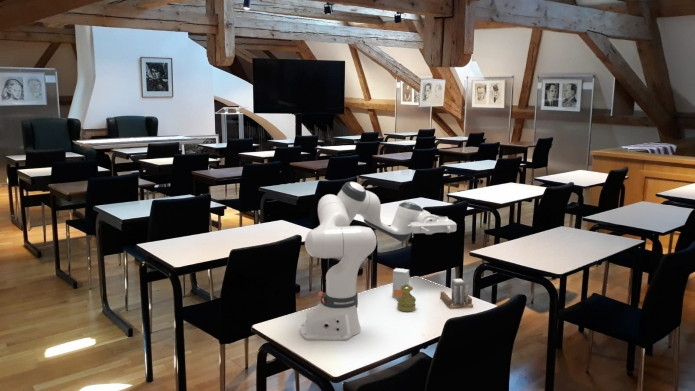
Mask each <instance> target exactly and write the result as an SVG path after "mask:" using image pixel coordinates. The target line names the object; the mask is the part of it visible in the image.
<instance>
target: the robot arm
mask: <svg viewBox="0 0 695 391" xmlns="http://www.w3.org/2000/svg"><path fill="white" fill-rule="evenodd" d="M357 215H359V216H360V217H362V218H363V222H364V223H365V224H366V225H368V226H369V227H367V226H362V225H351V223H352V221H353V220H354V219H355V217H356V216H357ZM317 216H318V220H319V225H318V226H317V227H315V228H313V229H310V230H309V231H308V232H307V234H306V236H305V238H304V247H305V250H306V252H307V253H308V254H309V256H311V257H313V258H319V259H337V258H341V260H339V262H338V263H337V264H335V265H333V266H331V267H329V269H328V270H327V272H326V275H325V280H326V281H325V292H323V291H322V290H321V291H319V292H318V294H317V295H318V297H319V298H320V303H318V304H316V306H314V307H313V308H311V309H310V310H309V311H308V312H307V315H306V318H305V321H303V322H302V323H301V324H300V326H299V334H300V335H301V337H302V338H304V339H305V340H308V341H310V340H311V341H312V340H313V341H315V340H317V341H347V340H349V339H351V337H353V336H355V335H357V334H359V333H360V332H361V330H362V328H361V324H360V321H359V315H358V306H359V305H358V304H359V295H358V293H357V292H358V291H357V282H358V281H357V280H358V272H359V269H360V267H361V265H362V263H364V261H365V260H366V258H367V257H368V256H370V255H371V254H372V253H373V252H374V250H375V249H376V246H377V241H378V240H377V235H376V234H375V232H374V230H373V229H375V230H376V231H378V232H380V233H382V234H384V235H387V236H389V237H390V238H392V240H395V241H397V242H398V243H399V242H400V243H404V242H406V241H408V240H410V239H411V234H425V235H433V234H436V233H446V234H450V233H454V232H456V231H457V223H456V222H455V221H453V220H452V219H449V217H448V216H443V215H436V214H431V212H429V211H428V210H425V209H423V208H422V206H420V205H418V204H416V203H415V202H410V201H404V202H401V203H400V204H398V207H397V209H396V211H395V214H394V217H393V219H392V222H391V224H390V225H387V224H386V223H383V222H382V220H381V200H380V199H379V196H377V194H375V193H374V192H372V191H369V190H366V189H365V187H364V186H362V185H361V184H359V183H358V182H355V181H351V180H350V181H347V182H345V183H344V184H343V185H342V187H341V189H340V190H339V192H338V193H337V195H335V194H330V193H329V194H325V195H324V196H322V197H321V198H320V199H319V200H318V204H317ZM372 228H373V229H372Z"/></svg>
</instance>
